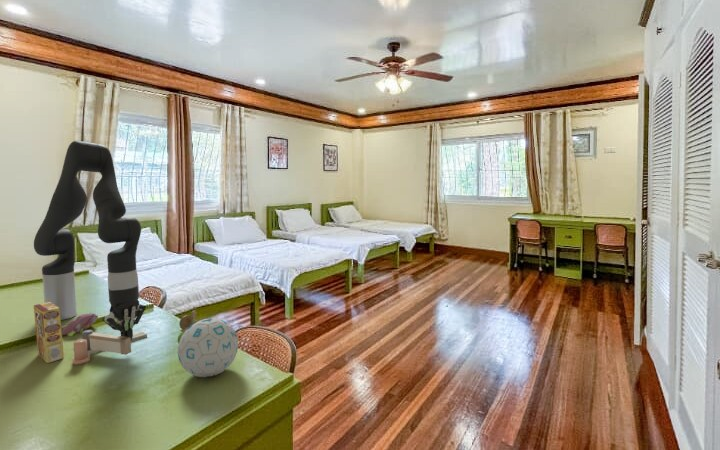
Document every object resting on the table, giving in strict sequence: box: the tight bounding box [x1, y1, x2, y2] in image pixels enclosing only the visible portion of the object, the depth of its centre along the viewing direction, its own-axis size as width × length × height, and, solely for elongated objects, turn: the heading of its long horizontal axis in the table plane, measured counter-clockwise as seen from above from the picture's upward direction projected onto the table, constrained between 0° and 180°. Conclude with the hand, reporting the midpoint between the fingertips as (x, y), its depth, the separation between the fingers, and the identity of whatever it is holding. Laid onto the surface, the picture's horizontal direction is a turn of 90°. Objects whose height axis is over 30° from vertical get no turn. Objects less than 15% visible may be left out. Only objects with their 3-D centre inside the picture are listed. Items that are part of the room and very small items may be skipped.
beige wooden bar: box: [81, 329, 132, 356], centre depth 109 cm, size 16×3×5 cm, turn 77°
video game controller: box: [61, 312, 99, 336], centre depth 127 cm, size 10×5×7 cm, turn 169°
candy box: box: [33, 302, 65, 364], centre depth 107 cm, size 9×4×15 cm, turn 54°
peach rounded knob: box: [72, 338, 91, 366], centre depth 105 cm, size 4×4×6 cm
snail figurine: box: [177, 306, 197, 345], centre depth 116 cm, size 5×6×12 cm
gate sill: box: [87, 330, 148, 356], centre depth 117 cm, size 4×18×1 cm, turn 146°
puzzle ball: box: [177, 317, 239, 378], centre depth 99 cm, size 15×15×15 cm
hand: (127, 340), depth 111 cm, fingers closed
